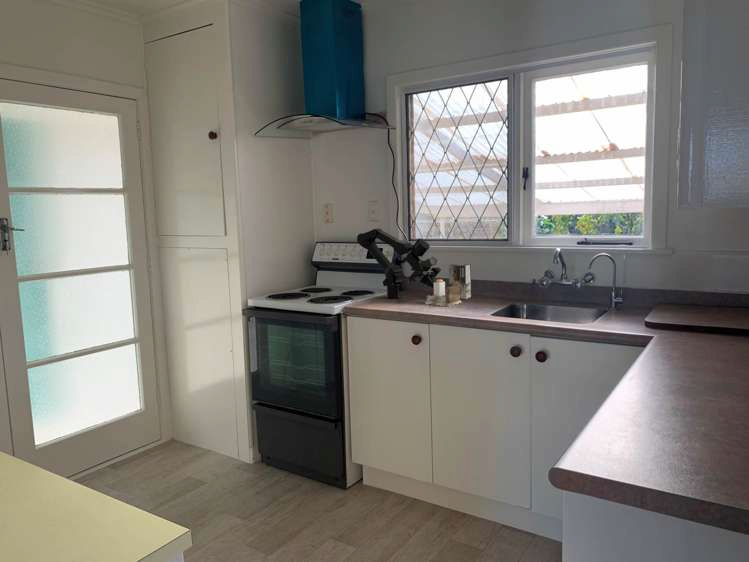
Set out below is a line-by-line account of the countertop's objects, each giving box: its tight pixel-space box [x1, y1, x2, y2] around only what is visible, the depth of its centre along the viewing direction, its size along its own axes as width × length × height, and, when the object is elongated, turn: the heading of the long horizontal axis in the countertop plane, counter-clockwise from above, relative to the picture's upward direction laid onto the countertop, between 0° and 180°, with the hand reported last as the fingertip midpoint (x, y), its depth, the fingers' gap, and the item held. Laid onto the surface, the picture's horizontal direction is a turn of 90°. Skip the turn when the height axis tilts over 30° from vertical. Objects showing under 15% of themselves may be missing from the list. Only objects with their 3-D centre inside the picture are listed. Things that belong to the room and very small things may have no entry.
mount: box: [424, 286, 462, 307], centre depth 268 cm, size 12×11×8 cm
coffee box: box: [448, 263, 472, 300], centre depth 283 cm, size 9×6×16 cm
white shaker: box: [431, 278, 446, 297], centre depth 270 cm, size 4×5×9 cm
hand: (435, 288), depth 271 cm, fingers closed
